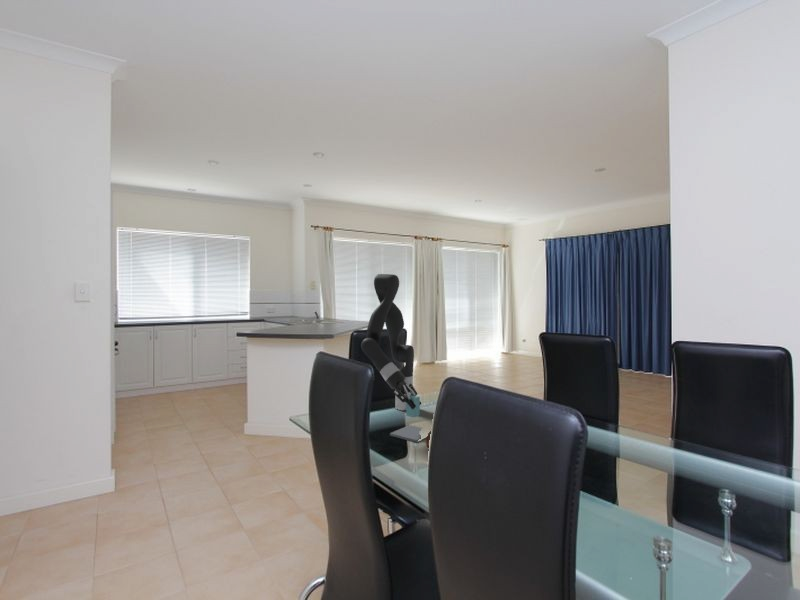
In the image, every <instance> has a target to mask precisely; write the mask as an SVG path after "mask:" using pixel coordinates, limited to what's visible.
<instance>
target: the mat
mask: <svg viewBox="0 0 800 600" xmlns="http://www.w3.org/2000/svg"><path fill="white" fill-rule="evenodd" d="M422 428H423V427H420V426H415V425H412V424H409V425H406V426H404V427H401V428H399V429H397V430H394V431H392V432H390V433H389V436H391V437H394V438H398V439H402V440H406V441H408V442H412V441H418V440H419V439H421V435H420V434H419V431H421V429H422Z"/></svg>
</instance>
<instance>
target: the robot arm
mask: <svg viewBox="0 0 800 600" xmlns="http://www.w3.org/2000/svg"><path fill="white" fill-rule="evenodd" d="M373 285H374V291H375V294H376V296H377V299H378V302H379V305H378V306H377V307H376V308H375V309H374V310H373V312H372V313H371V315H370V318H369V321H368V325H367V329H366V333H367V335H366V338H364V339H362V342H361V343H360V348H361V350H362V352H363V353H364V354H365V355H366V356H367V358H368V359H369V360H370V361H371V362H372V364H373V366H374V367H375V368H376V370H377V371H378V373H380V375H381V376H382V378H383V379H384V381H385V382H386V383H387V384H388V386H389V387H390V389H391V390H394V391H393V392H392V393H393V395H395V399H394V400H395V402H394V403H395V409H396V410H397V409H398V410H397V411H406V403H408V405H409V406H410V407H411V409H414V408H415V407H416V405H415V404H414V402H413V401H412V400H411V399H410V397H409V396H411V395H413V396H418V393H417V390H416V388H415V387H414V364H415V363H414V359H415V350H414V347H413V345H410V344H400V343H399V338H400V335H401V334H402V332H403V329H404V328H405V327H404V326H405V322H404V321H405V320H404V316H403V313H402V310H400V308H399V307H398V306H397V304H395V303H394V300H395V298H396V295H397V293H398V292H399V287H400V278H399V277H398V275H396V274H391V273H390V274H388V273H386V274H385V273H378V274H376V275H375V276H374V280H373ZM384 327H386V331H387V334H388V335H387V336H388V339H389V344H390V351H391V356H392V359H393V361H394V362H395V363H404V366H403V367H401V368H398V367H397V365H396V364H394V363H393V362H392V360H391V359H390V358H389V357H388V356H387V354H386V353H385V352H384V351H383V350H382V348H381V347H380V345H381V340H382V339H381V338H382V333H383V330H384ZM421 405H422V402H421V401H420V406H421Z"/></svg>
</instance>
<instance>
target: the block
mask: <svg viewBox="0 0 800 600" xmlns="http://www.w3.org/2000/svg"><path fill="white" fill-rule="evenodd" d="M409 397H410V399H411V400H412V401H413V402H414V404H415V405H416V407H415V408H414V409H411V407H410V406H409V405H408V403H406V410H405V411H406V412H405V413H406V417H410V418H417V417H419V416H420V414H421V413H420V412H421V410H420V409H421V407H420V406H421V405H420V402H421V399H420V396H419V395H417V396H413V395H411V396H409Z"/></svg>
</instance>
